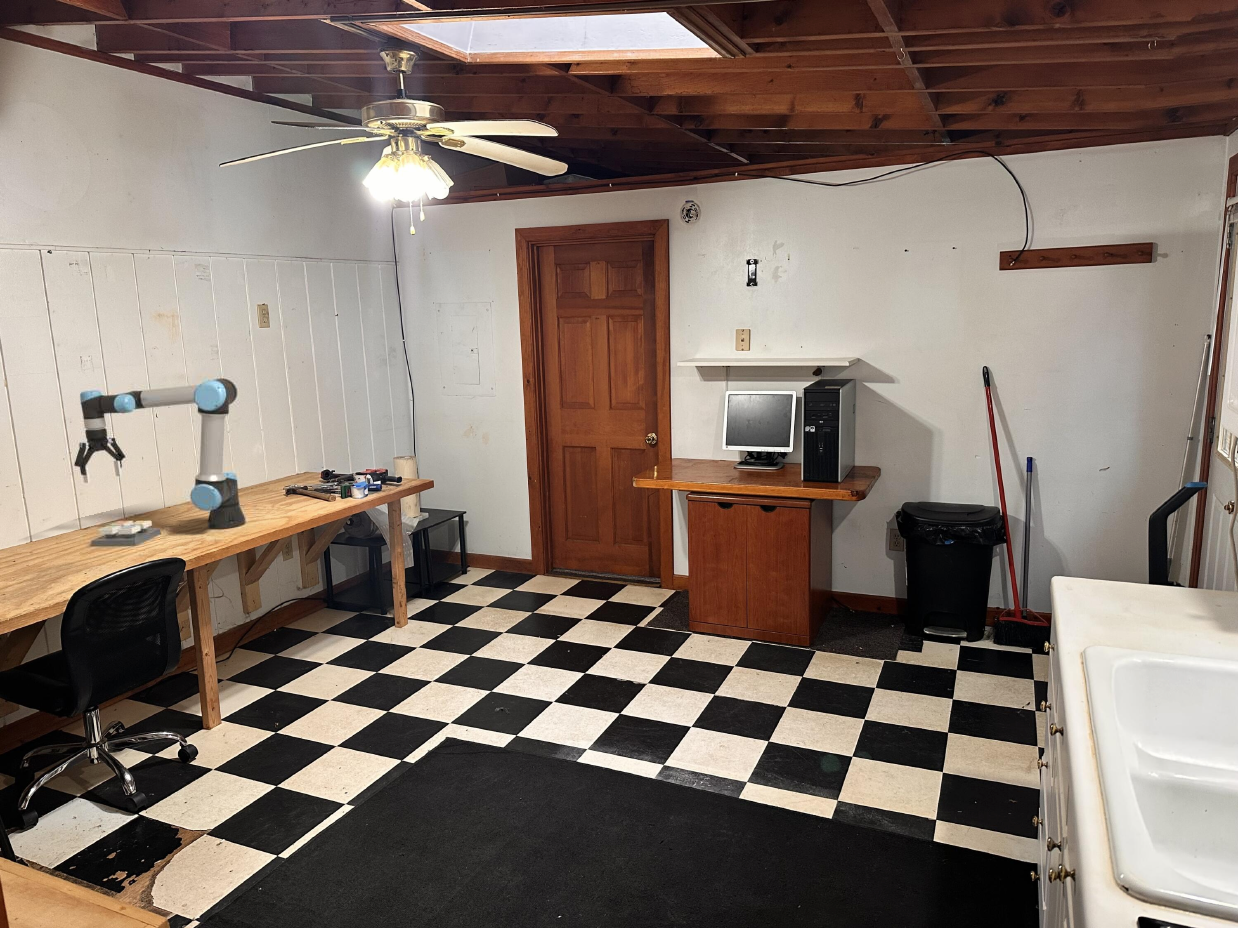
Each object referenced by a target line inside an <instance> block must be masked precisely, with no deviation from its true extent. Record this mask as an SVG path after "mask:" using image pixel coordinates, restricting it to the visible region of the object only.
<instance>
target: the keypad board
mask: <svg viewBox="0 0 1238 928" xmlns="http://www.w3.org/2000/svg"><path fill="white" fill-rule="evenodd" d="M134 534H135V536H134V537H132V538H125V534H118V532H117V533H115V535H116V536H115V537H113V538H106V534H102V535H101V536H100V537H99V536H98V537H96V538H94V539H92V540H91V542H90V543H91V547H137V546H138V545H140V544H143V543H145V542H147V541H149V540H151V539H154V538H155V537H158V536H160V535H161V534H162V532H161V528H146V531H145V532H143V533H137V532H136V533H134Z"/></svg>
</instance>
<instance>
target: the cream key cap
mask: <svg viewBox="0 0 1238 928" xmlns="http://www.w3.org/2000/svg"><path fill="white" fill-rule="evenodd" d="M130 526H140V529H141V530H140V531H138V532H137V533H143V532H145V531H146V529H148V528H149V527H151V526H153V523H152V520H136V521H135V522H134V521H133V523H131V524H130Z"/></svg>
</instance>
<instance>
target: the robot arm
mask: <svg viewBox="0 0 1238 928" xmlns="http://www.w3.org/2000/svg"><path fill="white" fill-rule="evenodd" d="M79 393H80V394H79V399H80V401H79V402H80V405H81V410H82V416H83V417H82V419H83V426H84V429H85V430H84V433H85V438H86V440H87V441H86V442H79V444H78V446H79V447H78V452H77V454H76V457H75V458H76V459H75V461H74V463H73V464H74V465H73V466H75V467H77V468H78V467H79V471H80V475H81V476H82V478H83V483H85V484H86V483H87V484H90V483H91V480H90V474H89V467H88V466H87V465H88V463H89V461H90V460H91V458H92V456H93V454H95V453H97V452H100V451H105V452H106V453H107V454H108V455H110V456H111V457H112V458H113V459H114V460H113V466H114V472H115V477H122V469H123V464H122V461H123V460H124V459H126V455H125V453H124V452H123V450H122V449H121V448H120V446H119V445H118V444H117V440H116V438H115V437H108V431H107V428H106V427H107V424H106V418H105V414H106V415H107V414H129V413H132V412H134V410H142V409H149V408H150V409H151V408H159V407H169V406H170V407H171V406H181V405H191V404H196V405H197V413H198V414H199V415H200V417H201V421H200V423H201V425H200V426H201V427H200V428H201V429H200V450H199V451H200V452H199V455H200V456H199V473H198V474H196V475H195V477H194V487H193V488H192V489H191V491H190V495H189V497H190V501H191V503H192V504H193V505H194V507H195V508H197V509H199V510H200V511H204V512H207V511H209V515H208V519H207V527H208V528H209V529H214V530H222V529H223V530H225V529H231V528H237V527H240V526H244V525H245V524H246V523H247V521H246V516H245V514H244V512H243V510H242V508H241V506H240V496H239V486H238V479H237V474H236V473H234V472H223V468H224V467H223V465H224V464H223V463H224V441H225V440H224V439H225V438H224V437H225V418H226V417H227V416H228V415H229V413H230V405H231V404H233V403H234V402H235V400H236V399H237V397H238V388H237V386H236V385H235V384H234V382H233V381H231V380H230V379H228V378H220V377H219V378H216V379H208V380H205V381H203V382H201V383H200V384H195V385H184V386H177V387H175V386H173V387H165V388H164V387H163V388H157V389H156V388H155V389H144V390H130V391H128V392H123V393H118V394H109V395H108V394H107V395H105V394H102V391H100V390H85V391H81V392H79ZM108 444H109V445H110V446H111V447H110V446H109V445H108Z"/></svg>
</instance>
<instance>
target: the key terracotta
mask: <svg viewBox="0 0 1238 928" xmlns="http://www.w3.org/2000/svg"><path fill="white" fill-rule="evenodd" d="M131 523H134V520H119V521H116V522H113V523H111V524H110V526H121V528H122V527H124V526H130V524H131Z"/></svg>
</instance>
